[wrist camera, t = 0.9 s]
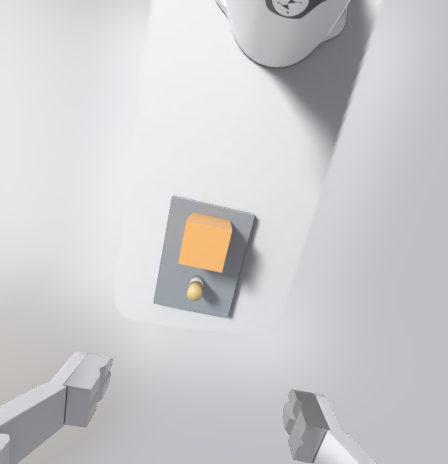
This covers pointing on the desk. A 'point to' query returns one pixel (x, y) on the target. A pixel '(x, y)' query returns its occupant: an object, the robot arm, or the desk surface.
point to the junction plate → (197, 279)
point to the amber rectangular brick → (205, 242)
